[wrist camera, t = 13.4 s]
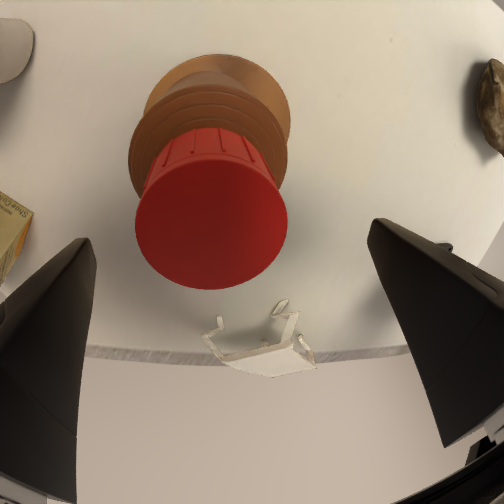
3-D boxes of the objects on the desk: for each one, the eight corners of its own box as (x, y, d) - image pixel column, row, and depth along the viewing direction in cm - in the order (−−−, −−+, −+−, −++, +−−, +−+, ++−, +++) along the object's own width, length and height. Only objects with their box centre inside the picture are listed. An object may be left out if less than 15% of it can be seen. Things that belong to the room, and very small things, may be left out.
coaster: (294, 57, 18) (296, 57, 17) (283, 189, 24) (284, 191, 23) (140, 59, 16) (139, 59, 16) (149, 194, 22) (148, 197, 22)
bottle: (256, 70, 18) (340, 106, 7) (253, 160, 21) (309, 298, 11) (155, 74, 17) (75, 118, 6) (161, 165, 21) (122, 311, 10)
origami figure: (321, 291, 31) (337, 328, 27) (306, 342, 36) (317, 377, 32) (198, 297, 29) (200, 339, 25) (202, 350, 34) (204, 387, 30)
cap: (270, 125, 10) (296, 156, 7) (264, 230, 12) (282, 285, 9) (144, 131, 9) (122, 165, 7) (157, 236, 11) (147, 294, 9)
